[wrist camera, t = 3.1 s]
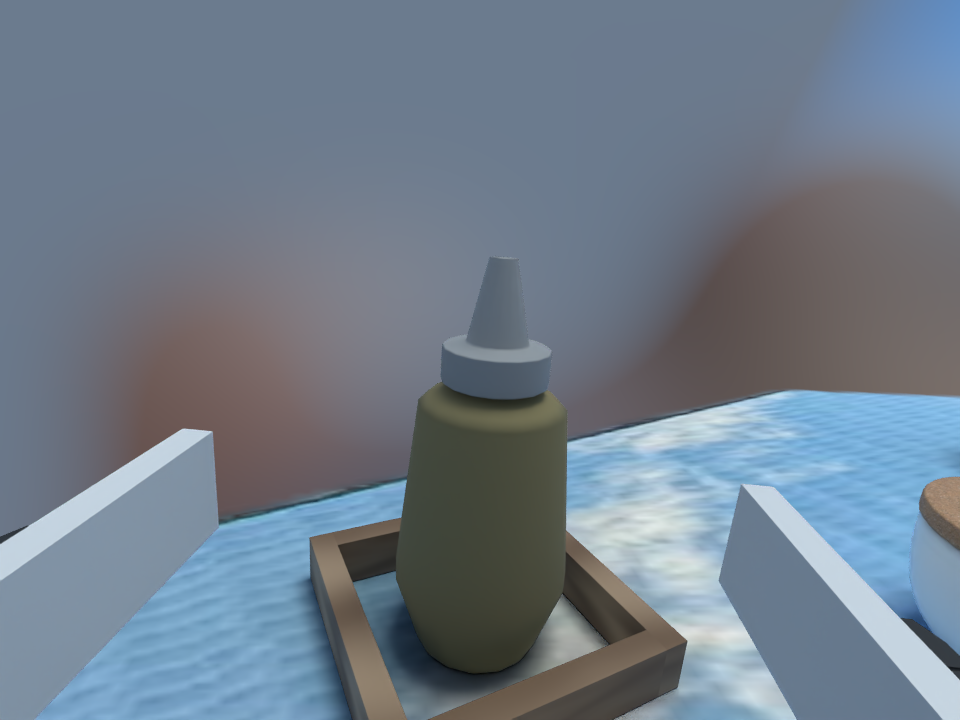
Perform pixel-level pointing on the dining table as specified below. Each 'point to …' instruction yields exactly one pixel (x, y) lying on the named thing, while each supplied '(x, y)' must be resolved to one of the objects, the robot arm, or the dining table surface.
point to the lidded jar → (938, 559)
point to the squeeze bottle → (486, 490)
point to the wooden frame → (527, 704)
